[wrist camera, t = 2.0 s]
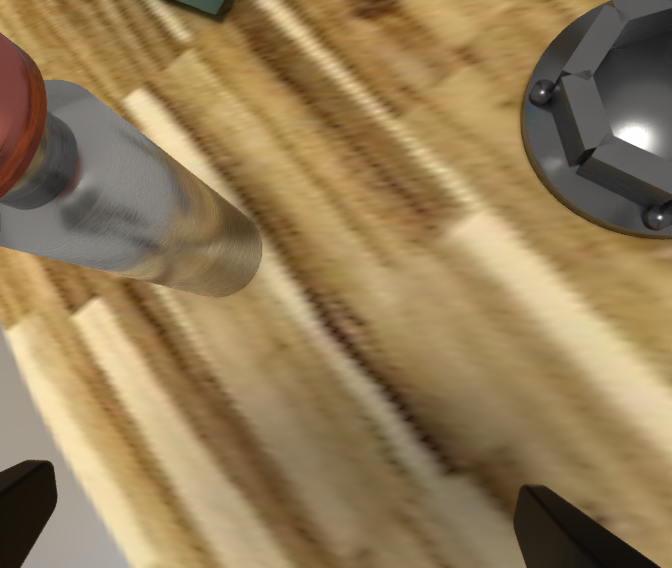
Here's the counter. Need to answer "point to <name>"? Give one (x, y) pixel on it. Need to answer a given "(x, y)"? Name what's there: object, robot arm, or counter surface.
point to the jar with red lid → (109, 191)
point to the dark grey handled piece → (607, 117)
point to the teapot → (205, 5)
